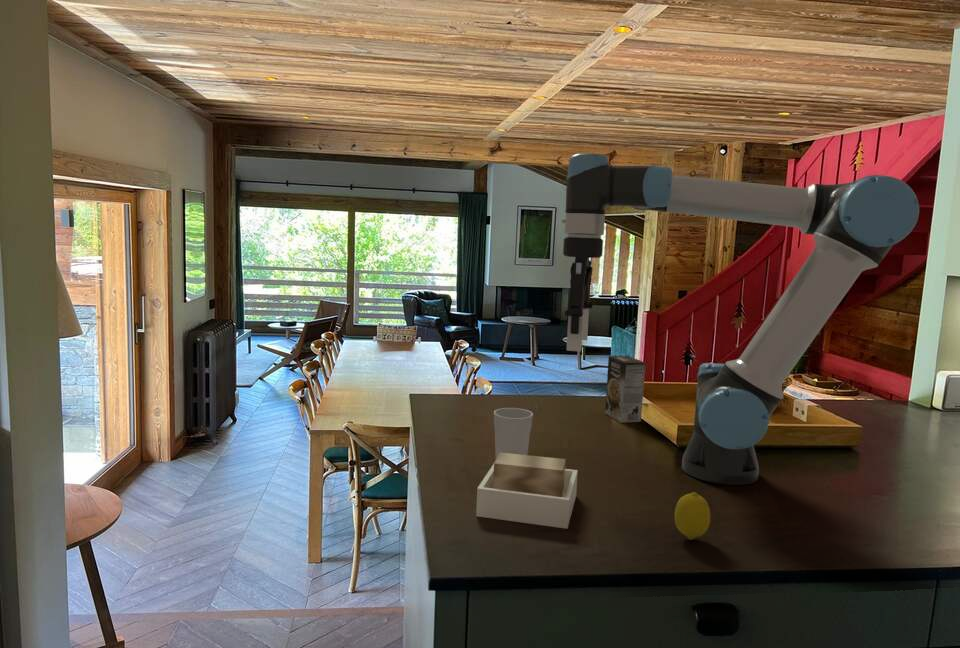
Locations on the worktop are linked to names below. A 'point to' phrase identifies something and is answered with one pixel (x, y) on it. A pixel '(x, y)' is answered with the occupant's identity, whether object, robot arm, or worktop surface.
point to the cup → (512, 430)
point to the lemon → (692, 515)
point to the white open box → (527, 503)
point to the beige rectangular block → (529, 474)
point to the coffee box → (625, 388)
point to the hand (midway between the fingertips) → (577, 345)
